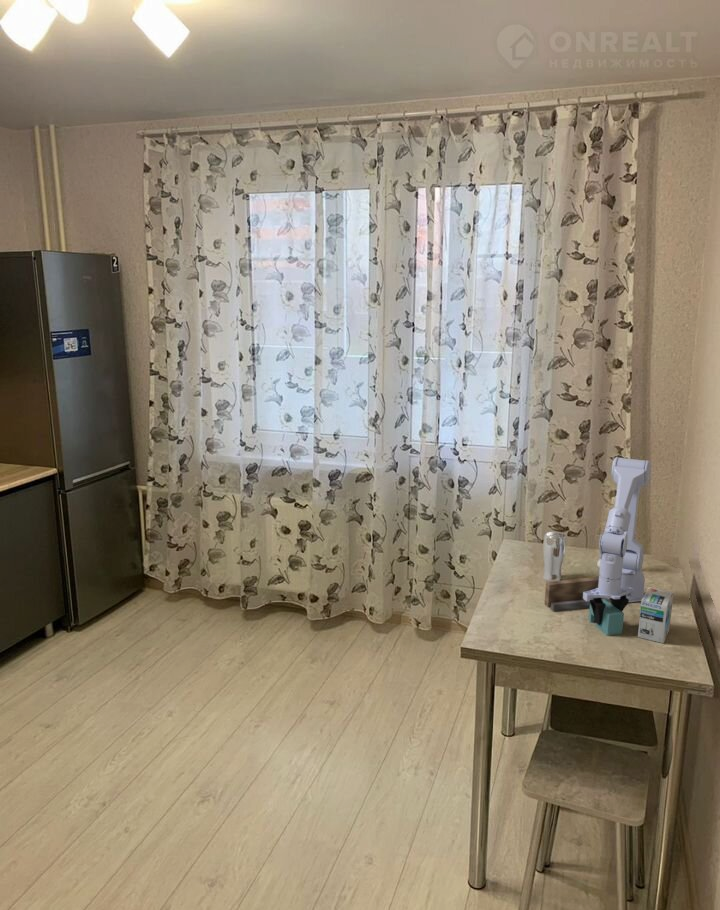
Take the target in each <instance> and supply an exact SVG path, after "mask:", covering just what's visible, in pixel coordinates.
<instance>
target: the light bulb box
mask: <svg viewBox="0 0 720 910" xmlns="http://www.w3.org/2000/svg"><path fill="white" fill-rule="evenodd" d="M644 592H645V593H643V598H642V600H641V601H640V611H639V620H638V622H639V623H638V632H637V638H640V639H644V640H649V641H653V642H657V643H661V644H665V640H666V638H667V636H668V634H669V631H670V626H671V620H672V619H671V618H672V611H673V601H674V592H673V591H667V590H664V589H658V588H654V587H649V586H648V588H647V589H646V591H644Z"/></svg>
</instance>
